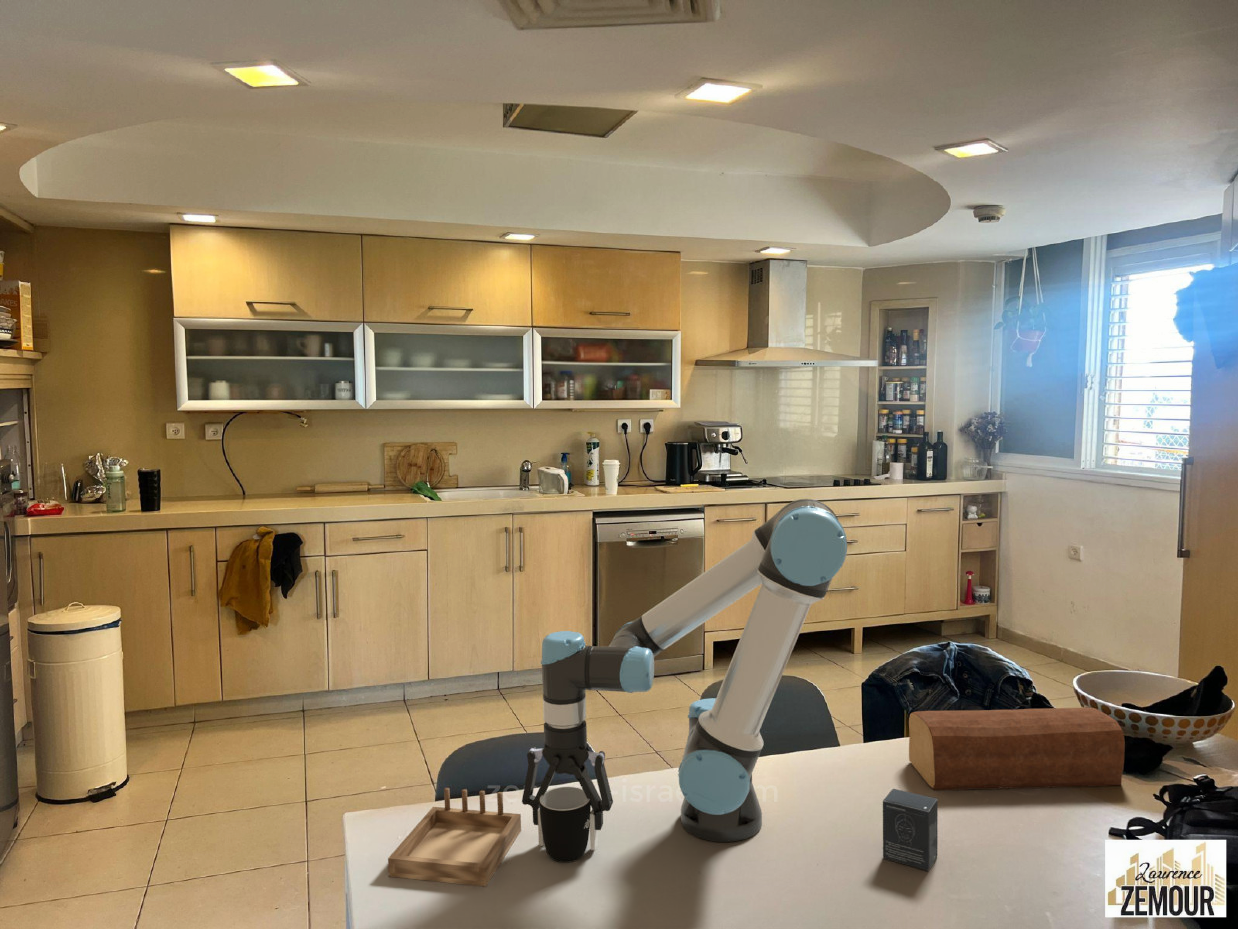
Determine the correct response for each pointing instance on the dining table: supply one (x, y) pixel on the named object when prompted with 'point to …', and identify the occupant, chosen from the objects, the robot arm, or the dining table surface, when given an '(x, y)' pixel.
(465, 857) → the rack
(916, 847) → the box
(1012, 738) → the bread
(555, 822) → the mug
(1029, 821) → the dining table surface
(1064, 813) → the dining table surface
